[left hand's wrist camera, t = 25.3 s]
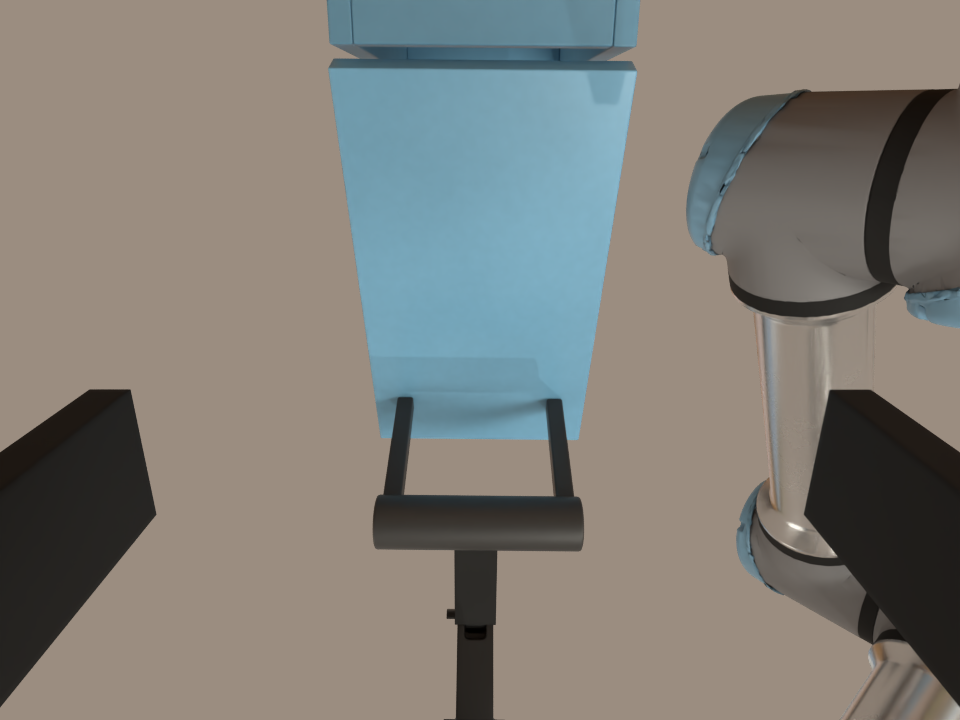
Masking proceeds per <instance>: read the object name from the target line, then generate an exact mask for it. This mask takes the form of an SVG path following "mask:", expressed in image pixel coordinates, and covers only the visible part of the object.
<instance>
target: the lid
mask: <svg viewBox="0 0 960 720" xmlns="http://www.w3.org/2000/svg"><path fill="white" fill-rule="evenodd" d="M328 71H329V78H330V85H331V92H332V98H333V106H334V113H335V120H336V127H337V134H338V141H339V148H340V155H341V162H342V169H343V176H344V183H345V190H346V197H347V204H348V211H349V218H350V225H351V232H352V239H353V246H354V253H355V260H356V267H357V274H358V281H359V288H360V295H361V302H362V309H363V316H364V323H365V330H366V337H367V344H368V351H369V358H370V365H371V372H372V379H373V386H374V393H375V400H376V407H377V414H378V421H379V428H380V435H381V438H392V439H391V446H390V453H389V460H388V467H387V474H386V480H385V487H384V494H383V495H378V496H377V499H376V502H375V506H374V514H373V542H374V546H375V548H376V549H398V550H493V551H581V549H582V546H583V540H584V516H583V507H582V503H581V500H580V498H579V497H574V492H573V484H572V476H571V468H570V459H569V451H568V443H567V440H578V438H579V432H580V426H581V420H582V414H583V407H584V401H585V395H586V389H587V382H588V376H589V370H590V364H591V357H592V351H593V345H594V339H595V332H596V326H597V320H598V314H599V307H600V301H601V295H602V289H603V282H604V276H605V270H606V263H607V257H608V251H609V245H610V238H611V232H612V226H613V220H614V213H615V207H616V201H617V195H618V188H619V182H620V176H621V170H622V163H623V157H624V151H625V145H626V138H627V132H628V126H629V120H630V113H631V107H632V101H633V95H634V88H635V82H636V76H637V70H636V68H635V66H634V64H633V62H632V61H546V60H435V59H333V61H332V63H331V65H330V66H329V68H328ZM410 438H439V439H536V440H549V450H550V460H551V471H552V482H553V493H554V496H460V495H404V489H405V480H406V471H407V463H408V455H409V446H410Z"/></svg>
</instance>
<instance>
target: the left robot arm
mask: <svg viewBox="0 0 960 720" xmlns="http://www.w3.org/2000/svg"><path fill="white" fill-rule="evenodd" d="M155 516H156V511H155V506H154V501H153V496H152V491H151V486H150V481H149V477H148V472H147V467H146V462H145V458H144V452H143V448H142V443H141V438H140V433H139V428H138V424H137V419H136V414H135V409H134V404H133V400H132V395H131V390H88V391H87V392H85V393H84V394H83V395H81V396H80V397H78V398H77V399H75V400H74V401H73V402H71V403H70V404H68V405H67V406H65V407H64V408H63V409H61V410H60V411H58V412H57V413H56V414H54V415H53V416H51V417H50V418H48V419H47V420H46V421H44V422H43V423H41V424H40V425H38V426H37V427H36V428H34V429H33V430H31V431H30V432H29V433H27V434H26V435H24V436H23V437H21V438H20V439H19V440H17V441H16V442H14V443H13V444H11V445H10V446H9V447H7V448H6V449H4V450H3V451H2V452H0V707H1V706H2V704H3V703H4V702H5V701H6V699H7V698H8V697H9V696H10V695H11V693H12V692H13V691H14V690H15V688H16V687H17V686H18V685H19V683H20V682H21V681H22V680H23V678H24V677H25V676H26V675H27V674H28V672H29V671H30V670H31V669H32V667H33V666H34V665H35V664H36V662H37V661H38V660H39V659H40V658H41V656H42V655H43V654H44V653H45V651H46V650H47V649H48V648H49V646H50V645H51V644H52V643H53V641H54V640H55V639H56V638H57V636H58V635H59V634H60V633H61V632H62V630H63V629H64V628H65V627H66V625H67V624H68V623H69V622H70V620H71V619H72V618H73V617H74V615H75V614H76V613H77V612H78V611H79V609H80V608H81V607H82V606H83V604H84V603H85V602H86V601H87V599H88V598H89V597H90V596H91V595H92V593H93V592H94V591H95V590H96V588H97V587H98V586H99V585H100V583H101V582H102V581H103V580H104V578H105V577H106V576H107V575H108V574H109V572H110V571H111V570H112V569H113V567H114V566H115V565H116V564H117V562H118V561H119V560H120V559H121V557H122V556H123V555H124V554H125V553H126V551H127V550H128V549H129V548H130V546H131V545H132V544H133V543H134V542H135V540H136V539H137V538H138V537H139V535H140V534H141V533H142V532H143V530H144V529H145V528H146V527H147V525H148V524H149V523H150V522H151V520H152V519H153V518H154V517H155ZM804 516H805V517H806V518H807V519H808V521H809V522H810V523H811V524H812V525H813V527H814V528H815V529H816V530H817V532H818V533H819V534H820V535H821V537H822V538H823V539H824V540H825V542H826V543H827V544H828V545H829V546H830V548H831V549H832V550H833V551H834V553H835V554H836V555H837V556H838V558H839V559H840V560H841V561H842V562H843V564H844V565H845V566H846V567H847V569H848V570H849V571H850V572H851V574H852V575H853V576H854V577H855V579H856V580H857V581H858V582H859V583H860V585H861V586H862V587H863V588H864V590H865V591H866V592H867V593H868V595H869V596H870V597H871V598H872V600H873V601H874V602H875V603H876V604H877V606H878V607H879V608H880V609H881V611H882V612H883V613H884V614H885V616H886V617H887V618H888V619H889V621H890V622H891V623H892V624H893V625H894V627H895V628H896V629H897V630H898V632H899V633H900V634H901V635H902V637H903V638H904V639H905V640H906V641H907V643H908V644H909V645H910V646H911V648H912V649H913V650H914V651H915V653H916V654H917V655H918V656H919V658H920V659H921V660H922V661H923V662H924V664H925V665H926V666H927V667H928V669H929V670H930V671H931V672H932V674H933V675H934V676H935V677H936V679H937V680H938V681H939V682H940V683H941V685H942V686H943V687H944V688H945V690H946V691H947V692H948V693H949V695H950V696H951V697H952V698H953V700H954V701H955V702H956V703H957V704H958V706H959V707H960V452H959V451H957V450H956V449H954V448H953V447H951V446H950V445H949V444H947V443H946V442H944V441H943V440H941V439H940V438H939V437H937V436H936V435H934V434H933V433H931V432H930V431H929V430H927V429H926V428H924V427H923V426H922V425H920V424H919V423H917V422H916V421H914V420H913V419H912V418H910V417H909V416H907V415H906V414H904V413H903V412H902V411H900V410H899V409H897V408H896V407H894V406H893V405H892V404H890V403H889V402H887V401H886V400H885V399H883V398H882V397H880V396H879V395H877V394H876V393H875V392H873V391H872V390H829V395H828V400H827V404H826V409H825V414H824V419H823V424H822V428H821V433H820V438H819V443H818V448H817V452H816V457H815V462H814V467H813V472H812V477H811V481H810V486H809V491H808V496H807V501H806V505H805V510H804Z"/></svg>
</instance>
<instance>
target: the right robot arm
mask: <svg viewBox="0 0 960 720" xmlns="http://www.w3.org/2000/svg"><path fill="white" fill-rule="evenodd" d="M686 216H687V226H688V230H689V234H690V236H691V238H692V240H693V242H694V243H695V244H696V245H697V246H698V247H701V248H702V249H703V250H704V251H707V252H708V253H709V254H710V255H724V256H725V257H726V259H727V264H728V274H729V281H730V287H731V291H732V294H733V296H734V297H735V298H736V300H737V301H738V302H739V303H740V304H742V305H743V306H744V307H746V308H747V309H749V310H751V311H753V313H754V323H755V333H756V343H757V353H758V364H759V374H760V384H761V394H762V405H763V414H764V425H765V435H766V445H767V456H768V466H769V476H770V477H769V478H768V479H767V480H765V481H763V482H762V483H761V484H759V485H758V486H757V487H756V488H755V489H754V491H753V492H752V493H751V495H750V496H749V498H748V500H747V501H746V503H745V505H744V507H743V510H742V513H741V516H740V521H741V526H740V527H739V528H738V529H737V536H736V541H737V551H738V556H739V559H740V561H741V563H742V565H743V566H744V568H745V569H746V570H747V572H748V573H750V574H751V575H752V576H753V577H755V578H756V579H758V580H760V581H761V582H763V583H764V584H765V585H766V586H767V587H768V588H770V589H771V590H773V591H774V592H776V593H779V594H782V595H786V596H788V597H789V598H791V599H793V600H795V601H796V602H798V603H800V604H802V605H803V606H805V607H807V608H809V609H810V610H812V611H814V612H816V613H817V614H819V615H821V616H823V617H825V618H826V619H828V620H830V621H832V622H833V623H835V624H837V625H839V626H840V627H842V628H844V629H846V630H847V631H849V632H851V633H853V634H854V635H856V636H858V637H860V638H862V639H864V640H865V641H867V642H869V643H871V644H872V647H871V648H870V650H869V654H868V658H869V663H870V666H871V668H872V672H871V673H870V675H869V676H868V678H867V679H866V681H865V682H864V684H863V686H862V687H861V688H860V690H859V691H858V693H857V695H856V696H855V698H854V699H853V701H852V702H851V704H850V705H849V706H848V708H847V709H846V711H845V713H844V714H843V716H842V717H841V719H840V720H960V707H959V706H958V704H957V703H956V702H955V701H954V700H953V698H952V697H951V696H950V695H949V693H948V692H947V691H946V690H945V688H944V687H943V686H942V685H941V683H940V682H939V681H938V680H937V679H936V677H935V676H934V675H933V674H932V672H931V671H930V670H929V669H928V667H927V666H926V665H925V664H924V662H923V661H922V660H921V659H920V658H919V656H918V655H917V654H916V653H915V651H914V650H913V649H912V648H911V646H910V645H909V644H908V643H907V641H906V640H905V639H904V638H903V637H902V635H901V634H900V633H899V632H898V630H897V629H896V628H895V627H894V625H893V624H892V623H891V622H890V621H889V619H888V618H887V617H886V616H885V614H884V613H883V612H882V611H881V609H880V608H879V607H878V606H877V604H876V603H875V602H874V601H873V600H872V598H871V597H870V596H869V595H868V593H867V592H866V591H865V590H864V588H863V587H862V586H861V585H860V583H859V582H858V581H857V580H856V579H855V577H854V576H853V575H852V574H851V572H850V571H849V570H848V569H847V567H846V566H845V565H844V564H843V562H842V561H841V560H840V559H839V558H838V556H837V555H836V554H835V553H834V551H833V550H832V549H831V548H830V546H829V545H828V544H827V543H826V542H825V540H824V539H823V538H822V537H821V535H820V534H819V533H818V532H817V530H816V529H815V528H814V527H813V525H812V524H811V523H810V522H809V521H808V519H807V518H806V517H805V516H804V510H805V505H806V501H807V496H808V491H809V486H810V481H811V477H812V472H813V467H814V462H815V457H816V452H817V448H818V443H819V438H820V433H821V428H822V424H823V419H824V414H825V409H826V404H827V400H828V395H829V390H872V391H873V388H874V358H875V327H876V304H878V303H879V302H881V301H882V300H884V299H885V298H886V297H888V296H889V295H890V294H891V293H892V292H893V291H894V290H895V288H896V287H897V285H901V286H905V287H907V288H909V290H908V291H907V292H906V294H905V297H904V299H905V300H906V302H907V310H908V311H909V312H910V314H911V315H913V316H914V317H916V318H919V319H924V320H929V321H930V322H932V323H935V324H939V325H943V326H949V327H954V328H960V85H959V88H958V89H939V90H934V89H931V90H878V91H828V92H811V91H810V90H807V89H803V90H797V91H794V92H792V93H788V94H776V95H765V96H757V97H753V98H750V99H747V100H745V101H743V102H741V103H739V104H738V105H736V106H735V107H734V108H732V109H731V110H730V111H729V112H728V113H727V114H726V115H725V116H724V117H723V118H722V119H721V120H720V121H719V122H718V124H717V125H716V126H715V128H714V129H713V131H712V132H711V134H710V135H709V137H708V138H707V140H706V142H705V144H704V146H703V148H702V151H701V154H700V156H699V158H698V160H697V162H696V164H695V167H694V170H693V173H692V176H691V181H690V185H689V190H688V195H687V207H686ZM496 581H497V551H493V550H455V609H447V619H455V624H456V625H458V633H457V692H456V718H455V719H444V720H495V719H494V718H493V625H495V624H496V583H497V582H496Z"/></svg>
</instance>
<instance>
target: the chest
mask: <svg viewBox="0 0 960 720" xmlns="http://www.w3.org/2000/svg"><path fill="white" fill-rule="evenodd" d="M639 8H640V0H327V11H328V26H329V41H330V44H332V45H334V46H336V47H338V48H340V49H342V50H344V51H346V52H348V53H350V54H352V55H354V56H356V57H358V58H360V59H435V60H546V61H607V60H609V59H611V58H613V57H615V56H617V55H619V54H621V53H623V52H626V51H628V50H630V49H632V48H634V47H636V44H637V32H638V20H639Z"/></svg>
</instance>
